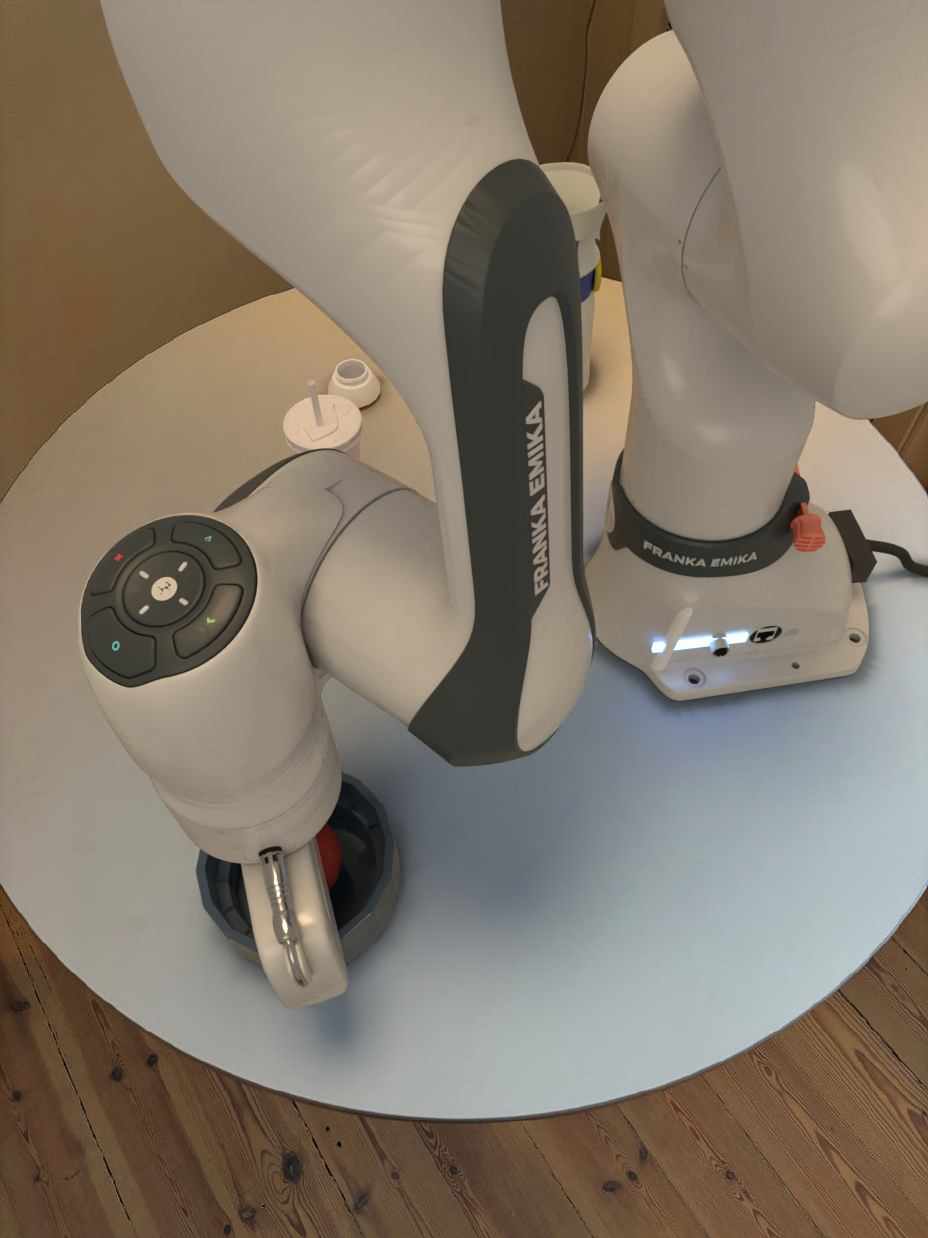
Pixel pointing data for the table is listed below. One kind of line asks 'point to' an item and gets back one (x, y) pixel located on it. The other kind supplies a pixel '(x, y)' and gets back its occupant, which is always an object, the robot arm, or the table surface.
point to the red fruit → (329, 854)
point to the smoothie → (324, 424)
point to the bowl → (355, 895)
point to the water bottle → (582, 237)
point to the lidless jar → (354, 382)
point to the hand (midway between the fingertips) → (297, 863)
